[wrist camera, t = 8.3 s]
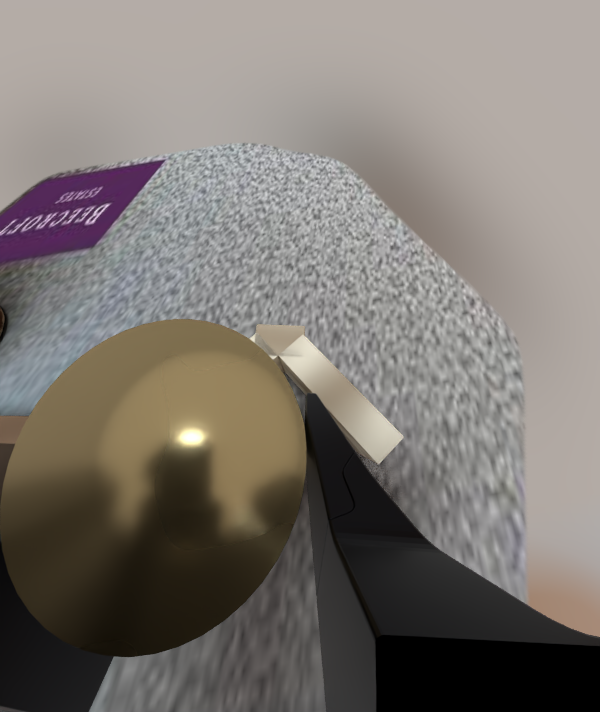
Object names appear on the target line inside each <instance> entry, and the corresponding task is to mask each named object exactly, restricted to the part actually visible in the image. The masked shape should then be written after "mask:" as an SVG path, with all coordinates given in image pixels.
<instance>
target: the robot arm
mask: <svg viewBox="0 0 600 712" xmlns="http://www.w3.org/2000/svg"><path fill="white" fill-rule="evenodd" d="M305 437H306V478H307V490H308V502H309V514H310V525H311V537H312V549H313V560H314V572H315V584H316V595H317V608H318V620H319V631H320V643H321V655H322V667H323V678H324V690H325V702H326V712H600V637H597V636H592V635H588V634H584V633H582V632H579V631H576V630H574V629H571V628H568V627H566V626H564V625H562V624H560V623H558V622H556V621H554V620H552V619H550V618H548V617H546V616H545V615H543V614H541V613H540V612H538V611H536V610H534V609H533V608H531V607H530V606H528V605H527V604H525V603H523V602H522V601H520V600H519V599H517V598H515V597H514V596H512V595H511V594H509V593H507V592H506V591H504V590H503V589H501V588H499V587H498V586H496V585H495V584H493V583H491V582H490V581H488V580H487V579H485V578H483V577H482V576H480V575H479V574H477V573H475V572H474V571H472V570H471V569H469V568H467V567H466V566H464V565H463V564H461V563H459V562H458V561H456V560H455V559H453V558H451V557H450V556H448V555H447V554H445V553H444V552H442V551H441V550H439V549H438V548H437V547H435V546H434V545H433V544H432V543H431V542H430V541H428V540H427V539H426V538H425V537H424V536H423V535H422V534H421V533H420V532H419V531H418V529H417V528H416V527H415V526H414V525H413V524H412V522H411V521H410V520H409V519H408V518H407V517H406V515H405V514H404V513H403V512H402V511H401V509H400V508H399V507H398V506H397V505H396V503H395V502H394V501H393V500H392V499H391V498H390V496H389V495H388V494H387V493H386V492H385V490H384V489H383V488H382V487H381V486H380V484H379V483H378V482H377V481H376V479H375V478H374V477H373V476H372V474H371V473H370V472H369V470H368V469H367V468H366V466H365V465H364V463H363V462H362V460H361V459H360V457H359V456H358V454H357V453H355V450H354V449H353V447H352V446H351V444H350V443H349V441H348V440H347V438H346V437H345V435H344V434H343V432H342V431H341V429H340V428H339V426H338V425H337V423H336V422H335V420H334V419H333V417H332V416H331V414H330V413H329V412H328V410H327V409H326V407H325V406H324V404H323V403H322V401H321V400H320V398H319V397H318V395H317V394H316V393H307V394H306V409H305ZM0 504H1V503H0ZM113 657H114V656H104V655H100V654H96V653H92V652H88V651H84V650H81V649H79V648H77V647H75V646H73V645H70V644H68V643H66V642H64V641H62V640H61V639H59V638H58V637H57V636H55V635H54V634H52V633H51V632H50V631H48V630H47V629H45V628H44V627H43V626H42V625H41V624H40V623H39V621H38V620H37V619H36V618H35V617H34V616H33V615H32V614H31V613H30V612H29V610H28V609H27V607H26V606H25V604H24V603H23V601H22V600H21V598H20V597H19V595H18V594H17V592H16V589H15V587H14V585H13V583H12V580H11V578H10V576H9V573H8V570H7V566H6V562H5V559H4V555H3V551H2V542H1V534H0V712H89V710H90V708H91V706H92V703H93V701H94V699H95V697H96V694H97V692H98V690H99V688H100V686H101V683H102V681H103V679H104V677H105V675H106V672H107V670H108V668H109V666H110V664H111V661H112V659H113Z"/></svg>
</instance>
